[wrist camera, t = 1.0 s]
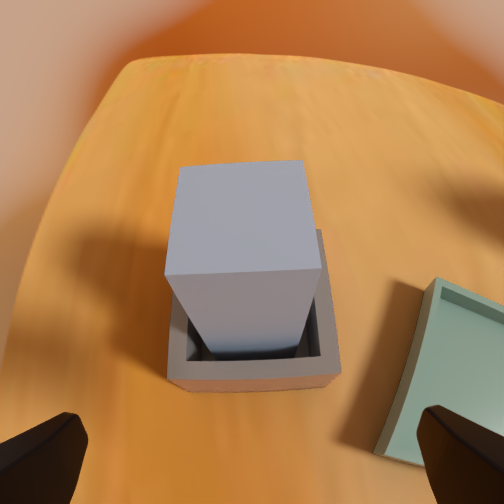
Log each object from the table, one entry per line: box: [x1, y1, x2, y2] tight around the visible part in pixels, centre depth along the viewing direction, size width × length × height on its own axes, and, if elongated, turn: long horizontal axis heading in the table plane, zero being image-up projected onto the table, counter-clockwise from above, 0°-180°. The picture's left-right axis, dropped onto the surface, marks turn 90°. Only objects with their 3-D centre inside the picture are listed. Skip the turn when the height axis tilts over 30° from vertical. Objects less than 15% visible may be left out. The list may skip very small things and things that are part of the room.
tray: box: [373, 277, 504, 468], centre depth 17 cm, size 13×13×2 cm
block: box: [164, 160, 322, 361], centre depth 17 cm, size 5×5×12 cm
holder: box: [167, 229, 341, 392], centre depth 20 cm, size 9×9×5 cm
